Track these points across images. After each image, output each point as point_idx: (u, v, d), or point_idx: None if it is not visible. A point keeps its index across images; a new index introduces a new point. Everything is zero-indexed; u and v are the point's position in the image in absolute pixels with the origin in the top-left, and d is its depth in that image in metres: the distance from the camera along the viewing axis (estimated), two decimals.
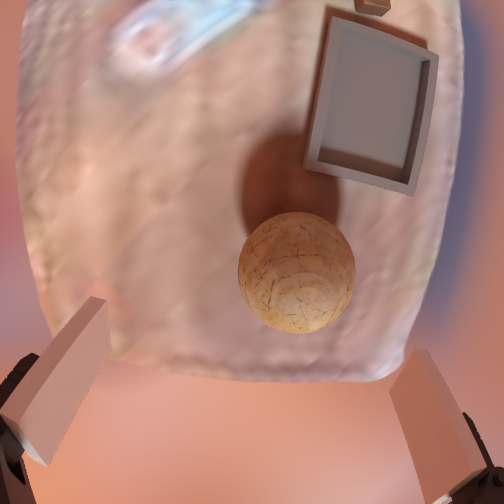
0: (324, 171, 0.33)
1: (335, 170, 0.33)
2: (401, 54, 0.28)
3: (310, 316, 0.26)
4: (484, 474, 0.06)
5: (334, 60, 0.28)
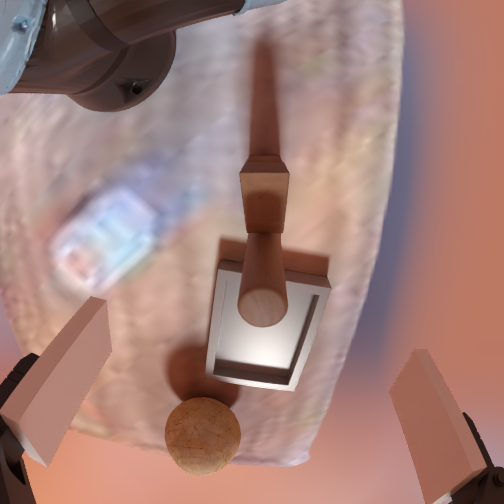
0: (218, 379, 0.44)
1: (227, 379, 0.44)
2: None
3: (199, 474, 0.37)
4: (484, 474, 0.06)
5: (220, 310, 0.39)
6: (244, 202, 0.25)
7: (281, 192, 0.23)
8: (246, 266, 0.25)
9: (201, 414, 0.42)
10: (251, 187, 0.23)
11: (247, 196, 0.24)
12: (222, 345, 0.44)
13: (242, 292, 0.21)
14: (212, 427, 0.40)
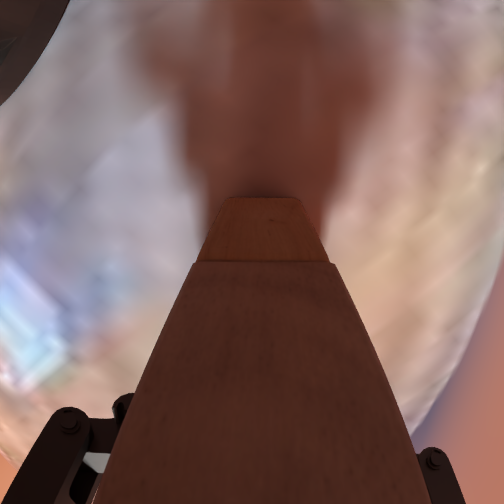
0: None
1: None
2: None
3: None
4: None
5: None
6: None
7: None
8: None
9: None
10: None
11: None
12: None
13: None
14: None
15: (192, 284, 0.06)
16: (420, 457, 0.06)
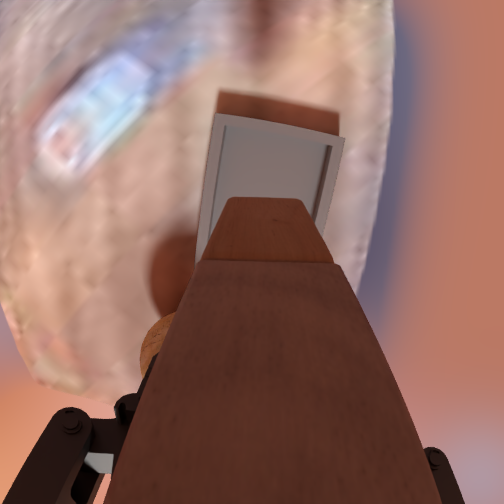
0: None
1: None
2: (301, 140, 0.32)
3: None
4: None
5: (215, 166, 0.32)
6: None
7: None
8: None
9: None
10: None
11: None
12: None
13: None
14: None
15: (198, 283, 0.06)
16: None
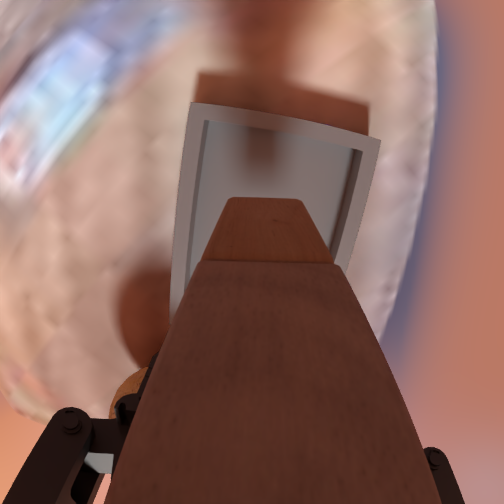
0: None
1: None
2: (316, 142, 0.22)
3: None
4: None
5: (192, 181, 0.22)
6: None
7: None
8: None
9: None
10: None
11: None
12: None
13: None
14: None
15: (198, 283, 0.06)
16: None
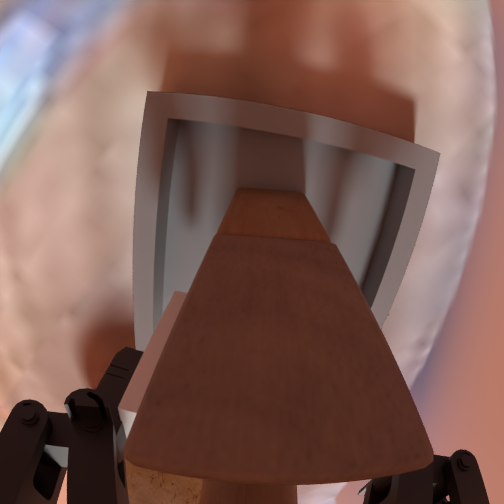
0: None
1: None
2: (343, 152, 0.14)
3: None
4: None
5: (152, 214, 0.14)
6: None
7: None
8: None
9: (136, 466, 0.17)
10: None
11: None
12: None
13: None
14: (157, 495, 0.15)
15: (216, 250, 0.08)
16: (452, 458, 0.06)
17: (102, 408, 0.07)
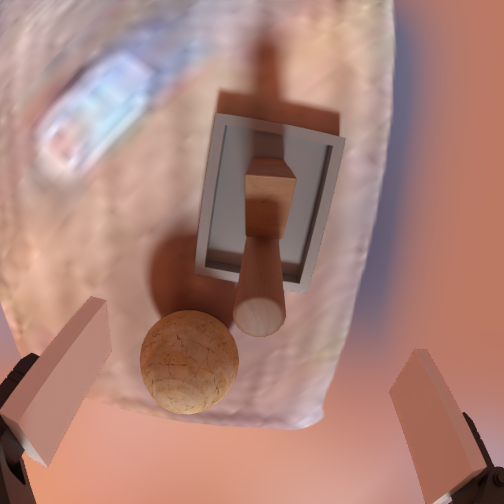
0: (211, 275, 0.37)
1: (222, 274, 0.37)
2: (301, 140, 0.33)
3: (181, 408, 0.30)
4: (484, 474, 0.06)
5: (216, 166, 0.32)
6: (246, 205, 0.24)
7: (286, 197, 0.23)
8: (244, 271, 0.24)
9: (187, 321, 0.35)
10: (255, 190, 0.22)
11: (250, 199, 0.23)
12: (217, 227, 0.37)
13: (239, 299, 0.20)
14: (201, 337, 0.33)
15: (252, 164, 0.26)
16: None
17: None
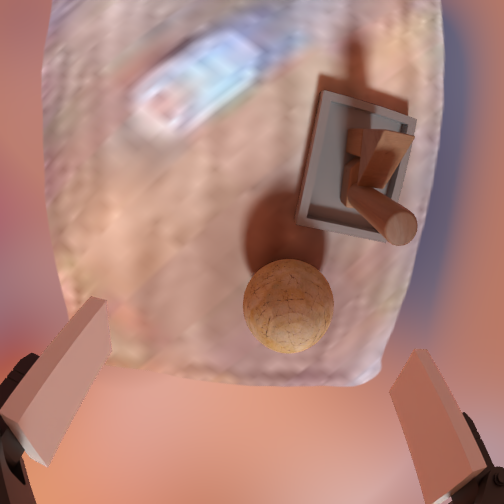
0: (311, 225, 0.43)
1: (320, 225, 0.42)
2: (383, 119, 0.38)
3: (296, 343, 0.36)
4: (484, 474, 0.06)
5: (323, 132, 0.38)
6: (373, 155, 0.29)
7: (402, 151, 0.28)
8: (376, 203, 0.29)
9: (295, 264, 0.40)
10: (386, 143, 0.27)
11: (378, 150, 0.29)
12: (316, 185, 0.42)
13: (390, 214, 0.26)
14: (310, 276, 0.39)
15: None
16: None
17: None
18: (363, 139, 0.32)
